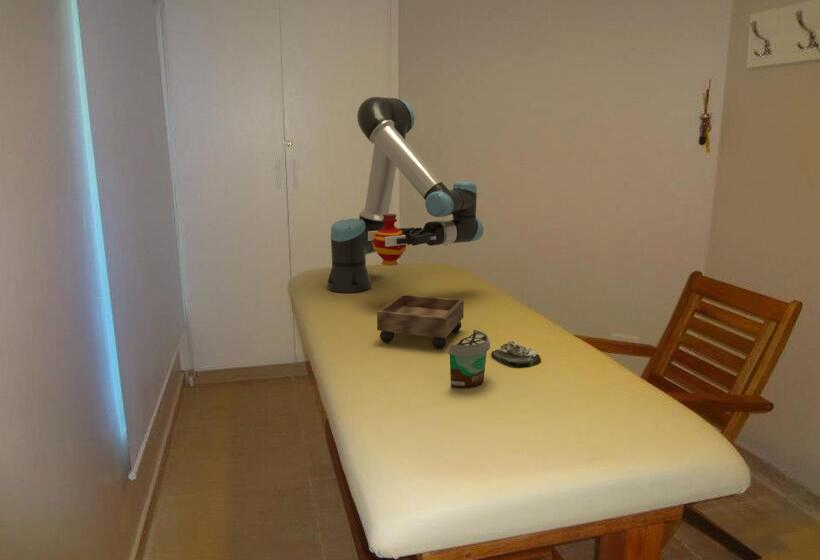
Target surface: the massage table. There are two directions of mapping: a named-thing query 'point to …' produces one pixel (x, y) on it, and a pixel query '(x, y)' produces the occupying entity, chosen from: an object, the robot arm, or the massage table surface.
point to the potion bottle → (385, 253)
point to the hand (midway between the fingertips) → (376, 238)
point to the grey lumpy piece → (516, 355)
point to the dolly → (420, 318)
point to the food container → (468, 361)
